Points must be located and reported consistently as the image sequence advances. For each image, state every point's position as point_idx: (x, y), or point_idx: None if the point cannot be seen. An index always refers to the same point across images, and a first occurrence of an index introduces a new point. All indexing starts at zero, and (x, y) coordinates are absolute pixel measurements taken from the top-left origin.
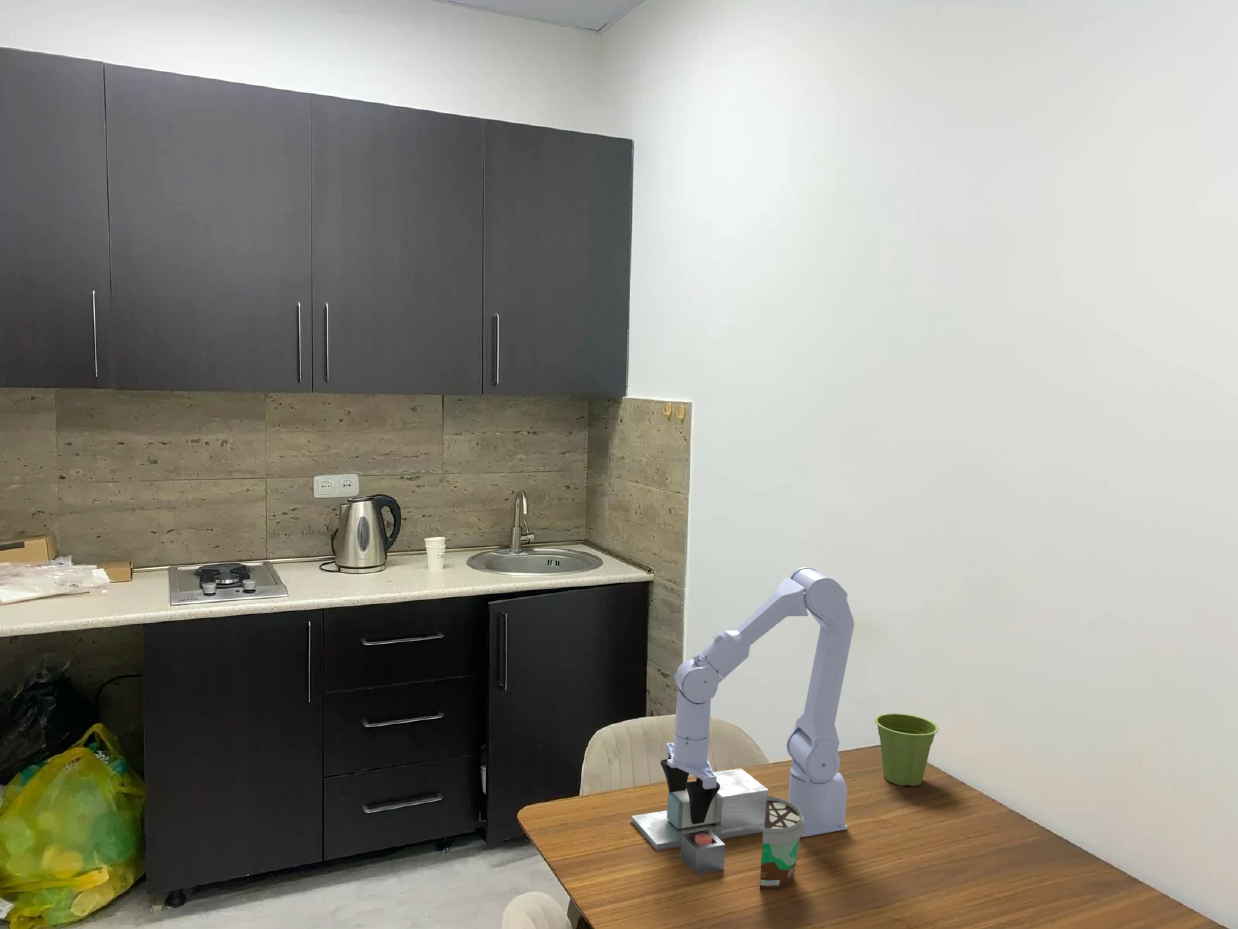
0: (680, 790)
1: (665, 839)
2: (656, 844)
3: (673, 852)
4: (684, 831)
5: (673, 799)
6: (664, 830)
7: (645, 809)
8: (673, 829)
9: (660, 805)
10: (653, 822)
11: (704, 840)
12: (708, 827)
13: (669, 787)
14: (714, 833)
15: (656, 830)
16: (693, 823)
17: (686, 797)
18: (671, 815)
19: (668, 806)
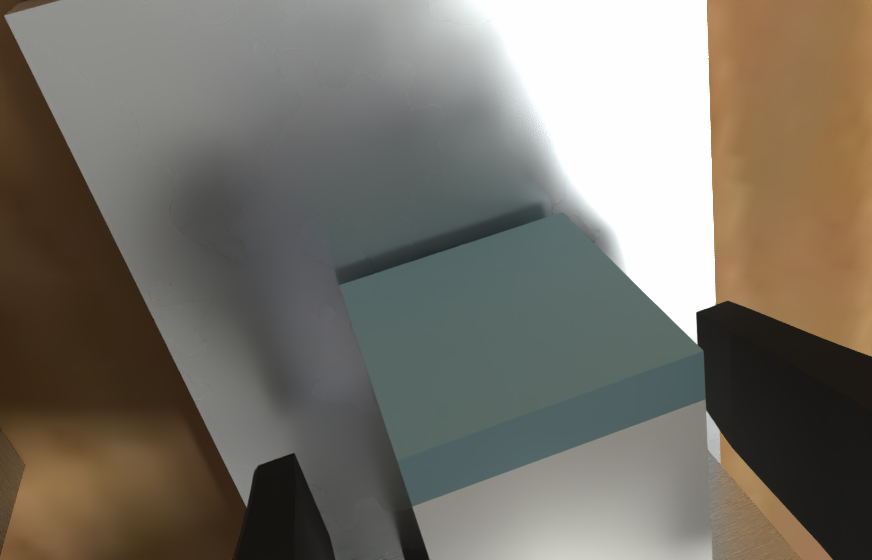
0: (780, 452)
1: (141, 138)
2: (12, 12)
3: (7, 181)
4: (317, 336)
5: (543, 394)
6: (347, 155)
7: (843, 38)
8: (359, 245)
9: (859, 180)
10: (520, 64)
11: None
12: (382, 512)
13: (836, 370)
14: None
15: (346, 68)
16: (257, 473)
17: (545, 538)
18: (499, 273)
19: (598, 278)
